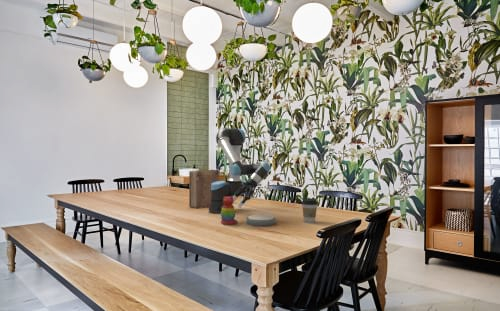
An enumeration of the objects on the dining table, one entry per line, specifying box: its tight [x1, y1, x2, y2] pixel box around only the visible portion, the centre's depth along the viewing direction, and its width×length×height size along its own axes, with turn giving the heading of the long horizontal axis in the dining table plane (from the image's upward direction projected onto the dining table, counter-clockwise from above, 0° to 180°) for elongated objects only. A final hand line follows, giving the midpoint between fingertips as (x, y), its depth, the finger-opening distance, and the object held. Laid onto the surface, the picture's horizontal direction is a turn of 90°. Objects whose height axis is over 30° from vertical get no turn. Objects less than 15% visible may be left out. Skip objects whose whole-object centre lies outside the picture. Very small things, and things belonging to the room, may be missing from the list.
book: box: [188, 169, 220, 209], centre depth 295 cm, size 25×9×30 cm, turn 138°
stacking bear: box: [220, 196, 239, 226], centre depth 230 cm, size 11×10×18 cm
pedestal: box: [246, 214, 276, 227], centre depth 230 cm, size 19×19×4 cm
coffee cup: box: [300, 198, 319, 224], centre depth 235 cm, size 11×11×15 cm
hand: (234, 205), depth 230 cm, fingers open, 13 cm apart
